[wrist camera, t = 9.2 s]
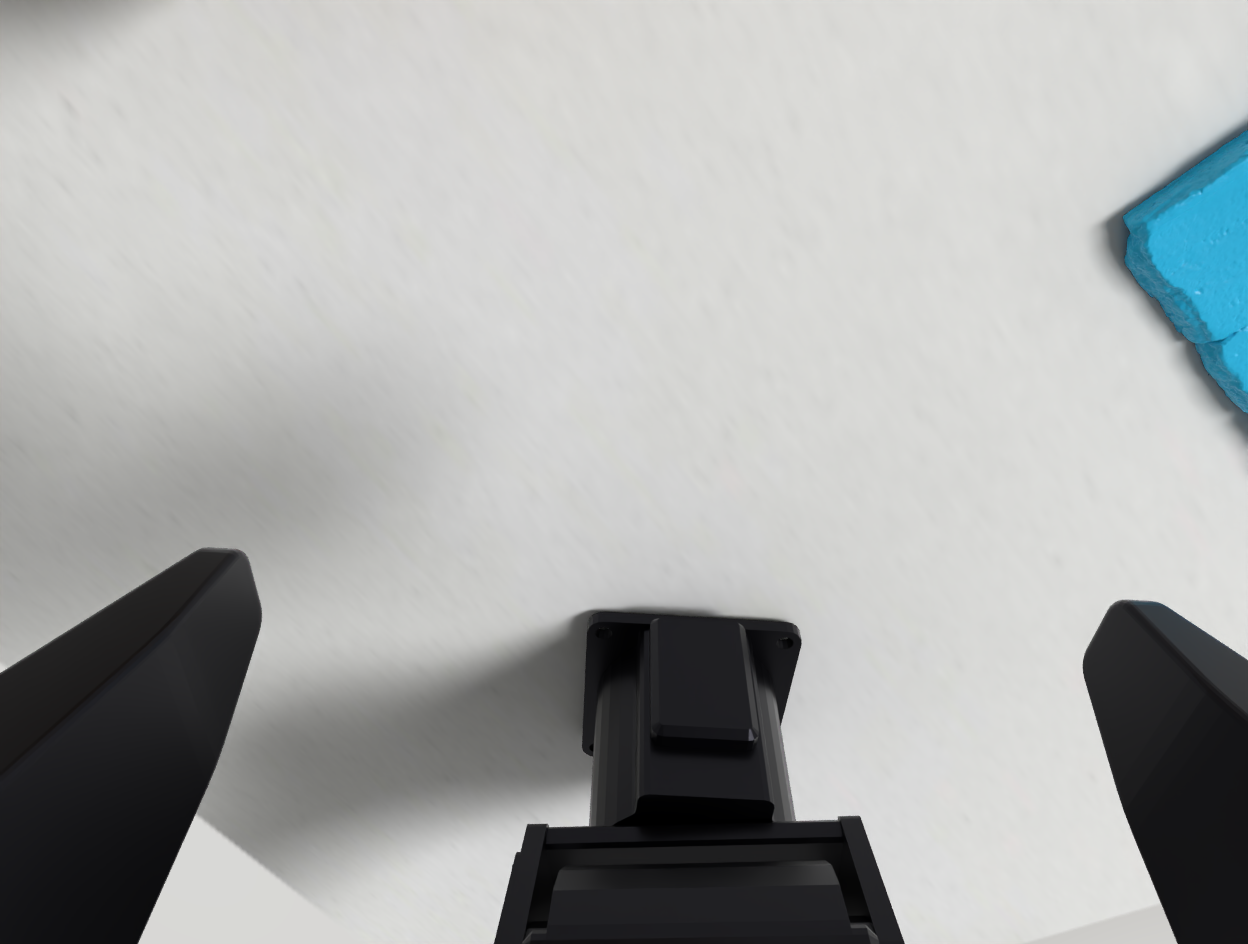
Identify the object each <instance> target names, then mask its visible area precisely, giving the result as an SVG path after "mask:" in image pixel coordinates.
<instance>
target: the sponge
mask: <svg viewBox="0 0 1248 944" xmlns="http://www.w3.org/2000/svg"><path fill="white" fill-rule="evenodd" d="M1123 220H1124V222H1125V224H1126V226H1127V227H1128V229H1129V230H1130V235H1129V237H1128V238H1127V249H1126V250H1127V252H1126V256H1125V257H1124V259H1125V264H1126V266H1127V267H1128V269H1130V270H1131V273H1132V274H1133V276H1134V277H1135V278H1136V281H1137V282H1138V283H1139V284H1140V286H1141V287H1142V288H1143V289H1144V290H1146V291H1147V293H1148V294H1149V295H1150V297H1155V298H1156V299H1157V300H1158V301H1159V303H1160V306H1161V307H1162V308H1163V310H1164V311H1165V313H1166V316H1167V317H1169V319H1170V321H1171V322H1173V323H1174V326H1175V328H1176V330H1177V331H1178V332H1179V333H1182V334H1183V335H1184V336H1185V338H1187V339H1188V340H1189V341H1191V342H1192V343H1195V346H1196V350H1197V352H1198V353H1199V354H1200V357H1201V360H1202V362H1203V364H1204V367H1205V369H1206V370H1207V372H1208V373H1209V374H1210V375H1211V376H1212V377H1213V378H1214V379H1215V380H1216V381H1217V383H1218V385H1219V386H1220V387H1221V388H1222V389H1223V390H1224V391H1225V394H1226V396H1227V397H1229V398H1230V400H1231V401H1232V402H1234V404H1235V405H1237V406H1238V407H1239V408H1240V409H1241V410H1242V411H1243V412H1246V413H1248V130H1246V131H1244V132H1243V133H1242V134H1241V135H1239V136H1238V137H1237V138H1234V139H1233V140H1231V141H1230V142H1228V143H1226V144H1225V145H1223V146H1222V147H1221V148H1219V149H1218V150H1217V151H1216V152H1214V153H1213V154H1211V155H1210V156H1208V157H1206V158H1205V159H1204V160H1202V161H1201V162H1199V163H1198V164H1197V165H1195V167H1193V168H1191V169H1190V170H1188V171H1186V172H1185V173H1184V174H1182V175H1181V176H1180V177H1178V178H1177V179H1175V180H1173V181H1172V182H1171V183H1170V184H1168V185H1167V186H1165V187H1164V188H1163V189H1162V190H1160V191H1158V192H1156V193H1155V194H1153V195H1152V196H1151V197H1149V198H1148V199H1146V200H1145V201H1143V202H1142V203H1141V204H1139V205H1138V206H1136V207H1135V208H1133V209H1132V210H1130V211H1129V212H1128V213H1126V214H1125V215H1124V216H1123ZM1209 374H1208V375H1209Z"/></svg>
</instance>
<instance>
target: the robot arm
mask: <svg viewBox="0 0 1248 944" xmlns="http://www.w3.org/2000/svg"><path fill="white" fill-rule="evenodd" d="M261 622H262V608H261V603H260V600H259V596H258V592H257V588H256V585H255V581H254V577H253V573H252V570H251V566H250V562H249V560H248V557H247V556H246V554H245V553H244V552H243V551H241V550H238V549H227V548H209V547H208V548H202V549H199V550H197V551H195V552H193V553H191V554H190V555H188V556H187V557H185V558H183V559H182V560H180V561H179V562H177V563H175V564H174V565H172V566H171V567H169V568H167V569H166V570H164V571H163V572H161V573H159V574H158V575H156V576H155V577H153V578H151V579H150V580H148V581H147V582H145V583H143V584H142V585H140V586H139V587H137V588H135V589H134V590H132V591H131V592H129V593H128V594H126V595H124V596H123V597H121V598H120V599H118V600H116V601H115V602H113V603H112V604H110V605H108V606H107V607H105V608H104V609H102V610H100V611H99V612H97V613H96V614H94V615H92V616H91V617H89V618H88V619H86V620H84V621H83V622H81V623H80V624H78V625H76V626H75V627H73V628H72V629H70V630H68V631H67V632H65V633H64V634H62V635H60V636H59V637H57V638H56V639H54V640H52V641H51V642H49V643H48V644H46V645H44V646H43V647H41V648H40V649H38V650H36V651H35V652H33V653H32V654H30V655H28V656H27V657H25V658H24V659H22V660H20V661H19V662H17V663H16V664H14V665H12V666H11V667H9V668H8V669H6V670H5V671H3V672H1V673H0V944H138V942H139V940H140V938H141V935H142V933H143V931H144V929H145V926H146V924H147V922H148V920H149V917H150V915H151V913H152V911H153V908H154V906H155V904H156V902H157V899H158V897H159V895H160V893H161V890H162V888H163V886H164V884H165V881H166V879H167V877H168V875H169V872H170V870H171V868H172V865H173V863H174V861H175V859H176V857H177V854H178V852H179V850H180V848H181V845H182V843H183V841H184V839H185V836H186V834H187V832H188V830H189V827H190V825H191V823H192V821H193V818H194V816H195V814H196V812H197V809H198V807H199V805H200V803H201V800H202V798H203V796H204V794H205V791H206V789H207V787H208V785H209V782H210V780H211V777H212V775H213V773H214V770H215V768H216V765H217V763H218V760H219V757H220V754H221V751H222V748H223V745H224V743H225V740H226V736H227V733H228V730H229V727H230V724H231V720H232V717H233V714H234V711H235V708H236V705H237V701H238V698H239V695H240V692H241V689H242V686H243V682H244V679H245V676H246V673H247V670H248V666H249V663H250V660H251V657H252V654H253V651H254V647H255V644H256V641H257V638H258V635H259V631H260V628H261ZM602 627H605V628H609V629H607V630H602V629H599V628H602ZM786 637H787V639H784V640H781V638H786ZM800 648H801V636H800V631H799V629H798V627H797V626H796V625H794V624H792V623H788V622H775V621H757V620H739V619H721V618H703V617H685V616H667V615H649V614H631V613H613V612H600V613H596V614H594V615H593V616H591V617H590V618H589V621H588V629H587V649H586V671H585V694H584V717H583V739H582V748H583V751H584V752H585V753H586V754H588V755H590V756H593V769H592V785H591V802H590V819H589V826H582V827H549V825H548V824H528V825H527V828H526V832H525V836H524V840H523V845H522V849H521V852H517V853H516V855H515V859H514V864H513V865H512V872H511V876H510V880H509V884H508V888H507V892H506V896H505V901H504V905H503V909H502V913H501V917H500V921H499V925H498V929H497V933H496V938H495V942H494V944H905V943H904V940H903V937H902V935H901V932H900V929H899V926H898V923H897V920H896V917H895V915H894V912H893V909H892V906H891V903H890V900H889V897H888V895H887V892H886V889H885V886H884V883H883V880H882V877H881V875H880V872H879V869H878V866H877V863H876V860H875V858H874V855H873V852H872V849H871V846H870V843H869V840H868V838H867V835H866V832H865V829H864V826H863V823H862V820H861V818H860V816H838V820H821V821H796V819H795V813H794V807H793V801H792V795H791V788H790V782H789V776H788V770H787V764H786V758H785V752H784V745H783V739H782V733H781V727H780V726H781V723H782V719H783V715H784V711H785V707H786V703H787V699H788V695H789V691H790V687H791V683H792V679H793V676H794V672H795V668H796V664H797V660H798V656H799V652H800ZM1083 674H1084V679H1085V682H1086V686H1087V689H1088V693H1089V696H1090V699H1091V703H1092V706H1093V710H1094V713H1095V716H1096V720H1097V723H1098V727H1099V730H1100V734H1101V737H1102V740H1103V744H1104V747H1105V751H1106V754H1107V758H1108V761H1109V764H1110V768H1111V771H1112V775H1113V778H1114V782H1115V785H1116V788H1117V791H1118V794H1119V797H1120V801H1121V804H1122V807H1123V810H1124V813H1125V815H1126V818H1127V820H1128V823H1129V826H1130V828H1131V831H1132V834H1133V836H1134V839H1135V841H1136V843H1137V846H1138V848H1139V851H1140V853H1141V856H1142V858H1143V860H1144V863H1145V865H1146V868H1147V870H1148V873H1149V875H1150V878H1151V880H1152V882H1153V885H1154V887H1155V890H1156V892H1157V895H1158V897H1159V899H1160V902H1161V904H1162V907H1163V909H1164V912H1165V914H1166V917H1167V919H1168V921H1169V924H1170V926H1171V929H1172V931H1173V934H1174V936H1175V938H1176V941H1177V943H1178V944H1248V660H1247V659H1245V658H1244V657H1242V656H1241V655H1239V654H1238V653H1236V652H1235V651H1233V650H1232V649H1230V648H1229V647H1227V646H1226V645H1224V644H1223V643H1221V642H1220V641H1218V640H1217V639H1215V638H1214V637H1212V636H1211V635H1209V634H1208V633H1206V632H1205V631H1203V630H1202V629H1200V628H1198V627H1197V626H1195V625H1194V624H1192V623H1191V622H1189V621H1188V620H1186V619H1185V618H1183V617H1182V616H1180V615H1179V614H1177V613H1176V612H1174V611H1173V610H1171V609H1170V608H1168V607H1167V606H1165V605H1163V604H1161V603H1158V602H1154V601H1139V600H1120V601H1117V602H1115V603H1114V604H1113V605H1111V606H1110V608H1109V609H1108V611H1107V613H1106V614H1105V616H1104V618H1103V620H1102V622H1101V624H1100V626H1099V627H1098V629H1097V631H1096V633H1095V635H1094V637H1093V638H1092V640H1091V642H1090V644H1089V646H1088V648H1087V650H1086V652H1085V655H1084V659H1083Z"/></svg>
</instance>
